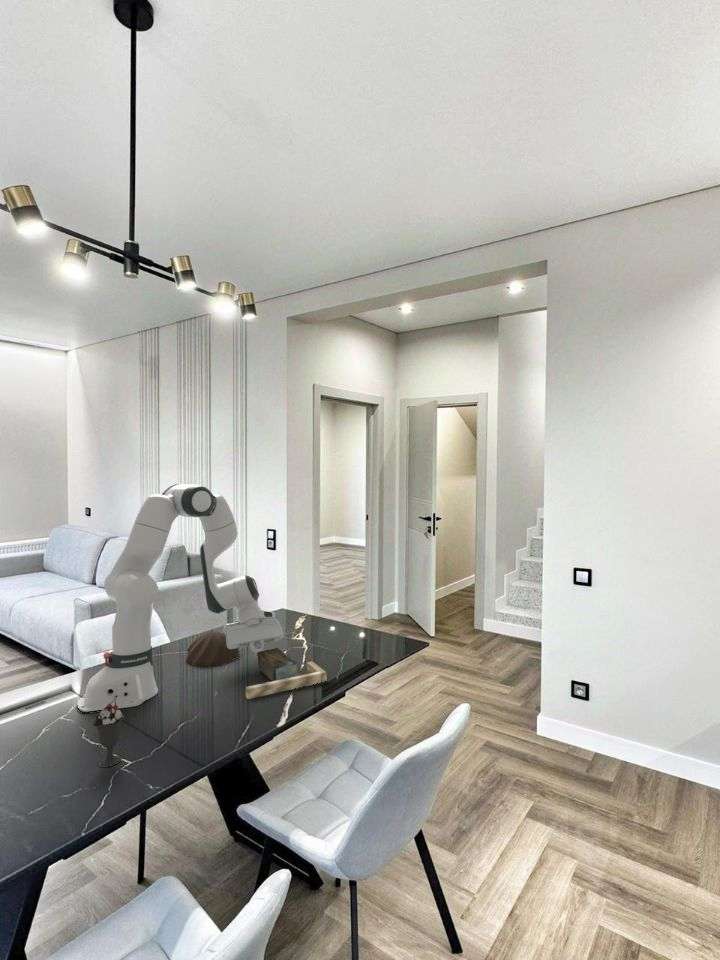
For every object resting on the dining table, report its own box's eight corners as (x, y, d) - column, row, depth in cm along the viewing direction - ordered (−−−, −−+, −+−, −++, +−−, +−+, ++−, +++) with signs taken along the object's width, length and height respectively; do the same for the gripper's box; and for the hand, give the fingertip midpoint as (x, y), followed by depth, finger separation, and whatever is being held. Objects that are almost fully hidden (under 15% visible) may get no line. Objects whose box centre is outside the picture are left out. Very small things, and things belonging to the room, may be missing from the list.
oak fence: (247, 699, 157) (247, 689, 157) (237, 685, 168) (237, 676, 168) (326, 681, 169) (326, 672, 169) (312, 670, 180) (312, 661, 180)
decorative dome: (224, 668, 185) (224, 640, 185) (175, 665, 189) (174, 637, 189) (248, 650, 204) (248, 625, 204) (203, 648, 208) (202, 623, 208)
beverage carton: (275, 687, 166) (274, 666, 166) (257, 669, 182) (256, 650, 182) (298, 681, 169) (298, 661, 169) (278, 664, 186) (278, 646, 186)
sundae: (130, 753, 127) (128, 692, 127) (118, 769, 120) (116, 703, 120) (102, 755, 127) (101, 693, 127) (89, 770, 120) (87, 705, 120)
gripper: (223, 620, 185) (231, 655, 176) (278, 611, 195) (288, 644, 186) (220, 629, 189) (228, 664, 180) (275, 621, 199) (284, 653, 190)
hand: (259, 654), depth 183 cm, fingers closed
